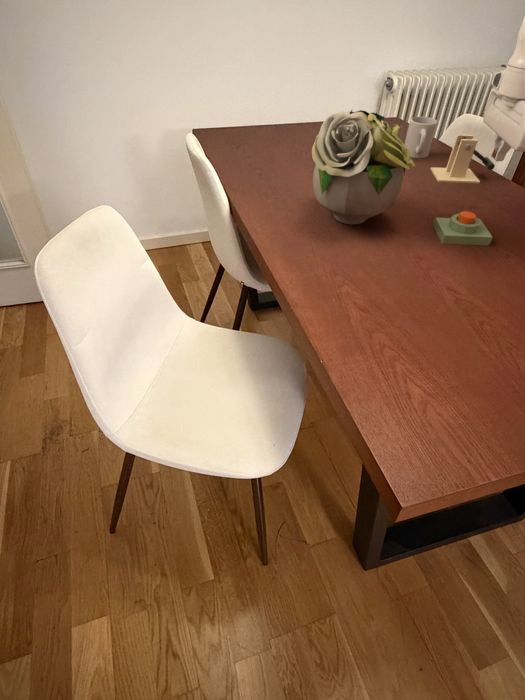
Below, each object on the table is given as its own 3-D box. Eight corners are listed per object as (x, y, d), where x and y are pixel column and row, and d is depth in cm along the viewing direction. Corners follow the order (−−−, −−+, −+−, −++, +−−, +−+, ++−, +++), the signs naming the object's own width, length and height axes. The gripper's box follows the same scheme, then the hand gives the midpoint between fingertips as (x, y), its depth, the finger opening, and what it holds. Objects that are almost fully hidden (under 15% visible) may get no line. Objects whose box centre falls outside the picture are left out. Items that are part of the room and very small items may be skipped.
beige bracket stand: (468, 173, 126) (483, 132, 118) (478, 186, 119) (495, 144, 110) (429, 172, 126) (441, 131, 118) (437, 185, 119) (451, 142, 111)
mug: (400, 150, 139) (409, 115, 132) (426, 152, 138) (436, 117, 131) (403, 163, 131) (412, 126, 123) (430, 165, 130) (441, 128, 122)
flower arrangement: (289, 230, 99) (296, 120, 81) (317, 190, 115) (328, 92, 98) (391, 250, 92) (422, 136, 75) (405, 206, 109) (433, 103, 92)
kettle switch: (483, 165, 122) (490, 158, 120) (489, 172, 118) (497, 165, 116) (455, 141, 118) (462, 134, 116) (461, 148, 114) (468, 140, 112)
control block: (476, 227, 101) (483, 212, 98) (488, 245, 95) (496, 230, 92) (432, 225, 101) (437, 210, 99) (441, 243, 95) (447, 228, 92)
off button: (470, 218, 97) (473, 211, 95) (475, 225, 94) (478, 218, 93) (455, 217, 97) (458, 210, 96) (459, 224, 94) (462, 217, 93)
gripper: (569, 98, 70) (531, 178, 80) (521, 72, 84) (494, 143, 94) (531, 97, 70) (499, 177, 80) (491, 72, 85) (467, 143, 94)
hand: (496, 158), depth 87 cm, fingers closed
